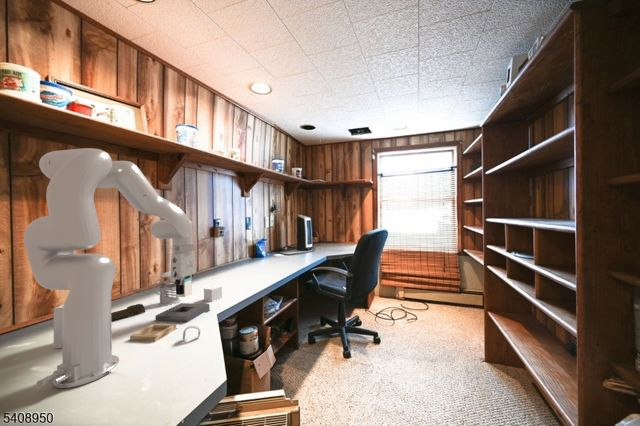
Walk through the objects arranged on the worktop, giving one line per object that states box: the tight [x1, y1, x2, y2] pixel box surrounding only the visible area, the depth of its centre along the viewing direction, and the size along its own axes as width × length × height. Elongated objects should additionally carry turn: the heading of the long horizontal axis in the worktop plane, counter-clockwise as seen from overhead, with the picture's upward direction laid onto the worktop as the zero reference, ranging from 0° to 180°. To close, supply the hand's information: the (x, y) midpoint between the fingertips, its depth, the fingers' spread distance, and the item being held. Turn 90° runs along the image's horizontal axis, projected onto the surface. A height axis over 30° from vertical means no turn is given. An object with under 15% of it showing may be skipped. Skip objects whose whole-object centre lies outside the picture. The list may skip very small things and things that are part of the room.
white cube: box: [203, 285, 223, 302], centre depth 123 cm, size 6×6×6 cm
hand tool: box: [111, 303, 146, 322], centre depth 100 cm, size 19×4×5 cm, turn 138°
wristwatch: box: [182, 325, 201, 342], centre depth 80 cm, size 3×5×5 cm, turn 111°
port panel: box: [154, 302, 211, 323], centre depth 101 cm, size 14×14×3 cm
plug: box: [175, 277, 193, 298], centre depth 102 cm, size 4×4×7 cm
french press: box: [152, 251, 182, 307], centre depth 120 cm, size 10×12×25 cm
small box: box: [53, 304, 64, 349], centre depth 82 cm, size 8×6×13 cm
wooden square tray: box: [128, 323, 179, 343], centre depth 84 cm, size 10×10×2 cm
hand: (184, 292), depth 102 cm, fingers closed on plug, 3 cm apart
